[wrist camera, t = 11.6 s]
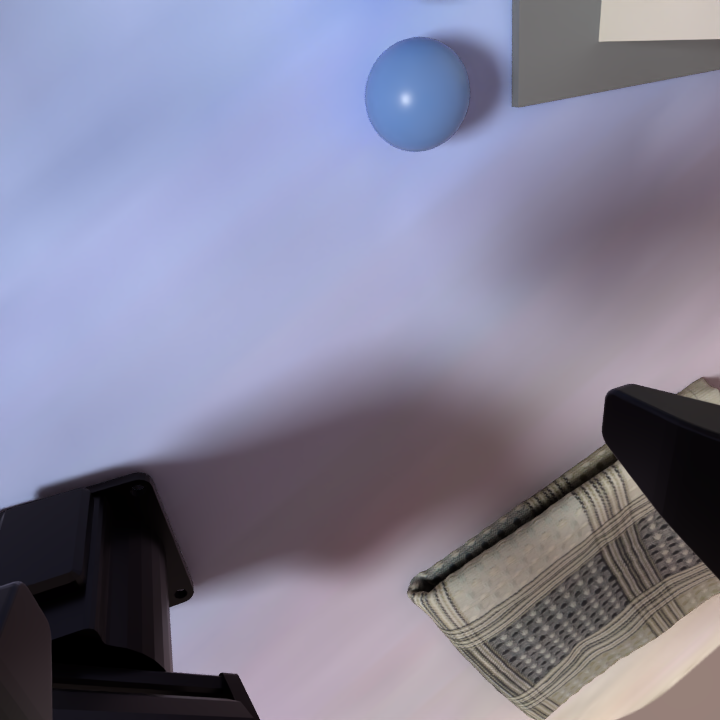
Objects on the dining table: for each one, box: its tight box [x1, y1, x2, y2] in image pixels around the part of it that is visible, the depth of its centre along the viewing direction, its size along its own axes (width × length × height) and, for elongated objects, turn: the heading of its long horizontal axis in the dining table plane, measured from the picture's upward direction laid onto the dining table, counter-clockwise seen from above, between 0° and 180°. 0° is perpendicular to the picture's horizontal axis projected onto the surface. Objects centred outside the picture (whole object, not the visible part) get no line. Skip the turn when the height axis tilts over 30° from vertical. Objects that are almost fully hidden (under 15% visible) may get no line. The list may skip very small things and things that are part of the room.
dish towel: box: [407, 378, 720, 720], centre depth 32 cm, size 19×18×3 cm
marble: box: [365, 37, 470, 152], centre depth 17 cm, size 3×3×3 cm
